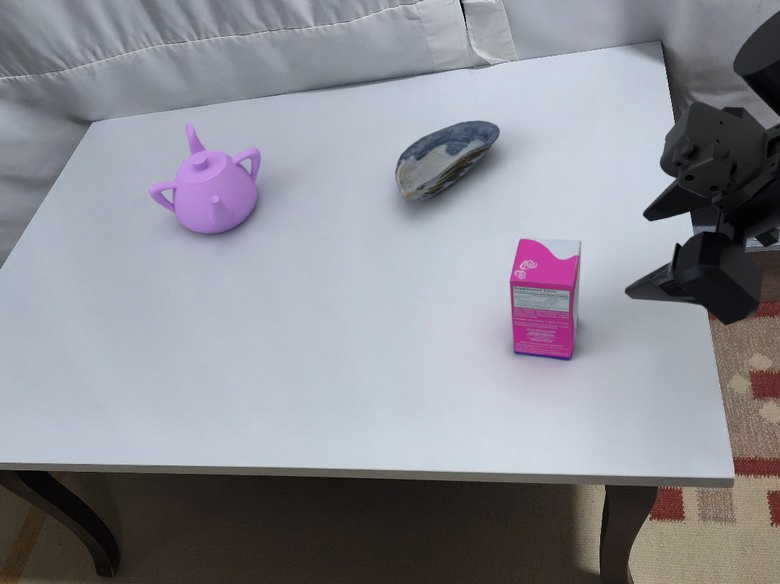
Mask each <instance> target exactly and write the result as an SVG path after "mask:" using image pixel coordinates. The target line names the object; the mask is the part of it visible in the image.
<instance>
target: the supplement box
mask: <svg viewBox="0 0 780 584" xmlns="http://www.w3.org/2000/svg"><path fill="white" fill-rule="evenodd" d="M514 256H515V257H514V260H513V264H512V268H511V273H510V278H509V292H510V295H509V296H510V309H511V329H512V330H511V331H512V345H513V354H514V355H515V354H516V355H522V356H523V355H524V356H533V357H540V358H548V359H556V360H562V361H571V360H572V357H573V353H574V347H575V343H576V338H577V331H578V325H579V304H580V284H581V283H580V282H581V262H582V261H581V260H582V259H581V258H582V240H580V239H555V238H540V237H524V236H523V237H520V238H519V240H518V245H517V248H516V253H515V255H514Z"/></svg>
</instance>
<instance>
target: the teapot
mask: <svg viewBox="0 0 780 584" xmlns="http://www.w3.org/2000/svg"><path fill="white" fill-rule="evenodd" d="M184 130H185V133H186V137H187V141H188V146H189V154H190V156H189V157H187V158H185V160H183V161H182V162H181V164H180V165H179V166H178V168H177V171H176V173H175V178H174V180H168V181H160V182H156V183H154V184H152V185H151V186H149V188H148V193H149V195H150V197H151V198H152V200H153V201H154V202H156V203H157V204H158V205H160V206H162V208H164V209H166V210H169V211H170V212H172V213H174V214H175V216H176V218H177V221H178V223H180V225H182V227H184V228H186V229H187V230H189V231H192V232H194V233H198V234H204V235H216V234H220V233H221V234H222V233H224V232H228V231H230V230H232V229H234V228H236V227H238V226H239V225H241V223H243V222H244V221H245V220H246V219H247V218H248V217H249V216H250V214H251V213H252V211H253V210H254V207H255V205H256V203H257V200H258V187H257V184H256V181H257V176H258V174H259V171H260V167H261V163H262V156H261V151H260V150H259V148H258V147H248V148H246V149H243V150H242V151H240V152H238V153H237V154H236V155H234V156H230V155H228V154H227V153H224V152H222V151H220V150H218V149H217V150H216V149H207V148H206V147H205V146H204V144H203V143H202V141H200V138H199V137H198V134H197V133H196V130H195V127H194V125H193V124H192V123H191V122H186V123H185V129H184ZM247 159H250V161H251V164H250V165H251V169H250V172H249V170H248V169H247V168H246V167H245V166H244V165H243V164H241V162H243V161H245V160H247ZM169 190H172V202H171V201H170V200H169V199H167V198H166V196H164V195H163V193H162V192H163V191H164V192H165V191H169Z"/></svg>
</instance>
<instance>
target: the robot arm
mask: <svg viewBox="0 0 780 584" xmlns="http://www.w3.org/2000/svg"><path fill="white" fill-rule="evenodd" d="M732 70H733V72H734V73H735V74H736V76H738V77H739V79H741V80H742V82H744V84H745V85H746V86H747V87H748V88H749V89H750V90H751V91H753V93H754V94H756V95H757V96H758V98H760V99H761V100H762V102H764V103H765V104H766V105H767V106H768V107H769V108H770V109H771V110H772V111H773V112H774V114H776V115H777V116H778V117H779V118H780V10H778V11H777V12H775V13H774V14H772V15H771V16H770V17H769V18H767V20H765V21H764V22H762V24H761V25H759V26H758V27H757V29H755V30H754V31H753V33H751V35H750V36H749V37H748V38H747V39H746V40H745V42H744V43H743V44H742V45H741V47H740V49H739V50H738V51H737V52H736V55H735V57H734V60H733V63H732ZM664 141H665V142H664V147H663V151H662V155H661V156H660V159H659V167H660V168H661V170H662V171H663V172H664V174H666V175H667V176H668V177H672V178H674V180H673V181H672V182H671V183H670V184H668V186H667V187H665V189H664V190H663V191H662V192H661V193H660V194H659V195H658V196H657V197H656V198H655V199H654V200H653V201H652V202H651V203H650V204H649V205H648V206H647V207H646V208H645V209H644V210H643V211H642V216H643V218H645V219H646V220H647V221H648V222H655V221H656V222H657V221H660V220H666V219H669V218H673V217H677V216H681V215H684V214H687V213H691V212H695V211H697V210H702V209H705V208H709V207H712V206H713V207H715V208H716V209H717V210H718V212H717V218H716V224H715V230H714V231H707V230H703V231H700V232H698V233H696V234H694V235H692V236H690V237H689V238H688V239H687V241H685V243H683V245H681V244H680V243H679V242H678V241H677V242H675V244H674V248H673V253H672V257H671V260H670V261H669V262H667V263H666V264H664V265H662V266H659V267H658V268H657V269H655V270H653V271H651V272H649V273H648V274H645V275H644V276H642V277H641V278H639V279H636V280H635V281H634V282H632V283H631V284H629V285H628V286H626V287H625V289H624V293H625V295H626V296H628V297H629V298H630V299H631V300H638V301H639V300H641V301H653V302H654V301H655V302H668V303H669V302H670V303H681V304H689V305H696V306H701V307H702V308H704V309H705V310H706V311H708V312H709V313H710V314H711V315H712V316H714V317H715V319H717V320H718V321H719V322H721V324H722V325H724V326H729V325H733V324H736V323H739V322H741V321H744V320H747V319H750V318H753V317H756V316H757V313H758V311H759V307H760V304H761V297H762V287H763V279H764V270H765V269H764V268H763V267H762V266H761V265H760V264H759V263H758V262H756V260H754V259H753V258H752V256H750V255H749V254H748V253H747V252H746V251H747V246H748V245H747V244H748V240H749V239H753V238H754V239H755V240H756V241H757V242H759V243H760V244H761V246H762V247H764V248H768V247H771V246H773V245H775V244H777V243H779V242H780V122H779V123H777V124H775V125H773V126H771V127H769V128H765V127H764V126H763V124H761V123H760V122H759V121H758V120H757V119H756V118H755V117H754V116H753V115H752V114H751V113H750V112H749V111H748V110H747V109H746V108H745V107H743V106H724V107H722V108H721V109H719V108H718V107H715V106H712V105H710V104H708V103H705V102H703V101H694V102H692V103H691V104H690V105H689V106H688V108H687V109H686V110H685V111H684V113H683V114H682V115H681V116H680V118H679V119H678V120H677V121H676V122H675V124H674V125H673V126H672V127H671V129H670V130H669V131H668V132H667V133H666V135H665V138H664Z"/></svg>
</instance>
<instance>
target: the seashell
mask: <svg viewBox="0 0 780 584" xmlns="http://www.w3.org/2000/svg"><path fill="white" fill-rule="evenodd" d="M500 134H501V129H500V127H499V126H498V125H497V124H495V123H492V122H490V121H487V120H468V121H461V122H458V123H454V124H452V125H450V126H446V127H443V128H440V129H439V130H436V131H433V132H431V133H429V134H427V135H424V136H422V137H420V138H419V139H418V140H416V141H414V142H412V144H411V145H409V146H408V147H407V148H406V149H405V150H404V151H403V152H402V153H401V154H400V156H399V158H398V160H397V162H396V168H395V170H394V171H395V172H394V176H395V177H394V178H395V182H396V185H397V188H398V191H399V194H400V196H401V198H402V199H403V200H404V201H406V202H410V203H413V202H414V203H415V202H420V201H424V200H427V199H429V198H431V197H434V196H436V195H437V194H439V192H442V191H443V190H444V189H446V188H448V187H449V186H451V185H452V184H454V183H455V182H456V181H458V179H460V178H461V177H462V176H464V175H465V174H466V173H467V172H468V171H470V169H472V168H473V167H474V166H475V165H476V164H477V162H478V161H479V160H480V159H481V158H482V157H484V156H485V155H486V153H487V152H488V151H489V150H490V149H491V147H492V146H493V145H494V144H495V142H496V141H497V140H498V139H499V137H500Z"/></svg>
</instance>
